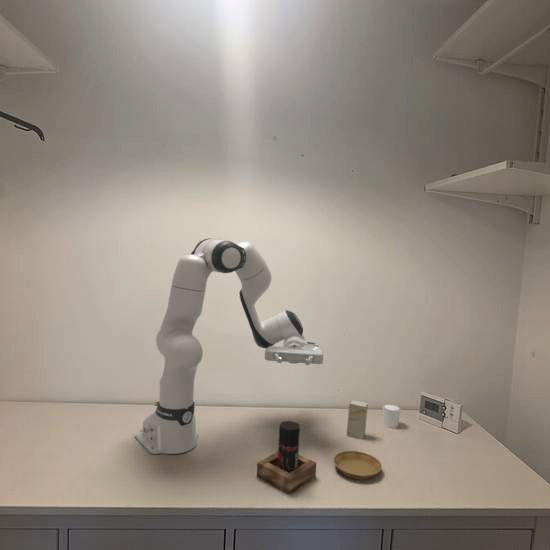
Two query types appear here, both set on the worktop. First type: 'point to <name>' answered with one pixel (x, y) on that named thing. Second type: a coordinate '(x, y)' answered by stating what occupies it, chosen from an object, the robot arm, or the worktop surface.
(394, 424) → the white cylinder
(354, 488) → the worktop surface
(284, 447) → the deodorant
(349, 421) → the skincare box
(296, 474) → the slot block
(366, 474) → the plant saucer
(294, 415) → the worktop surface
